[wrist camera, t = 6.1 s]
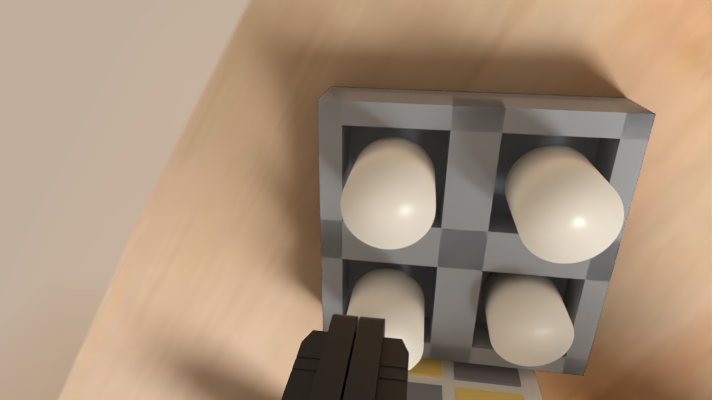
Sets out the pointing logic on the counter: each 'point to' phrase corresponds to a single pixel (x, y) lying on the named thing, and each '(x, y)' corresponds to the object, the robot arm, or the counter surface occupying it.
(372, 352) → the robot arm
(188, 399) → the counter surface
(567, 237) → the button front right
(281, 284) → the counter surface
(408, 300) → the button back left
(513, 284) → the button back right
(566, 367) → the button board
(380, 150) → the button front left
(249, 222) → the counter surface
